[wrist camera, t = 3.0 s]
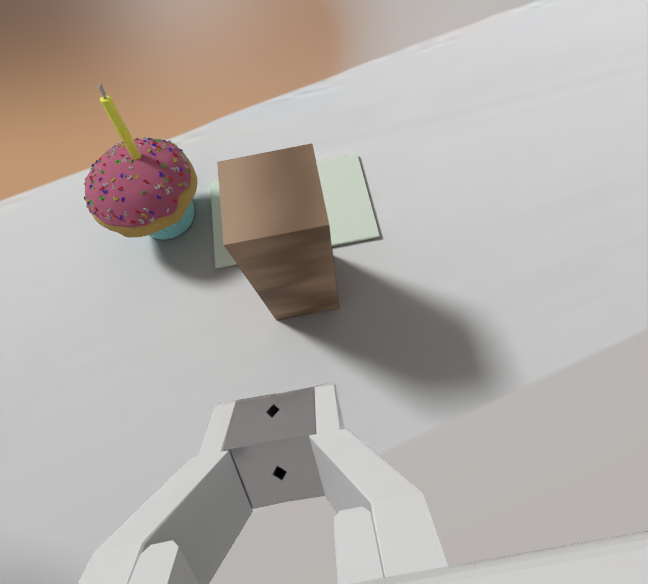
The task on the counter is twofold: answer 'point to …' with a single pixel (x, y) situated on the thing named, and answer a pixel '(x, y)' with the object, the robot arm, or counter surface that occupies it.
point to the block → (279, 229)
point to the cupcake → (141, 185)
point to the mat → (340, 200)
